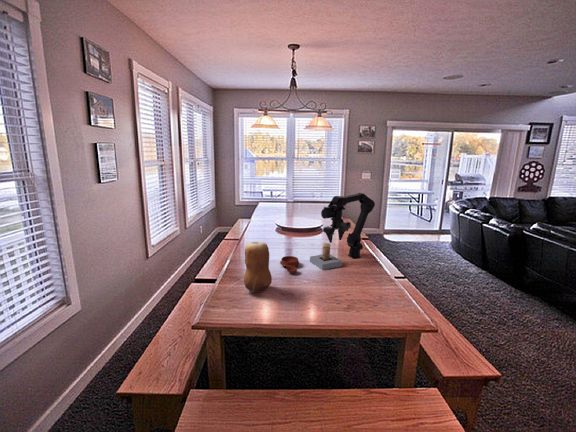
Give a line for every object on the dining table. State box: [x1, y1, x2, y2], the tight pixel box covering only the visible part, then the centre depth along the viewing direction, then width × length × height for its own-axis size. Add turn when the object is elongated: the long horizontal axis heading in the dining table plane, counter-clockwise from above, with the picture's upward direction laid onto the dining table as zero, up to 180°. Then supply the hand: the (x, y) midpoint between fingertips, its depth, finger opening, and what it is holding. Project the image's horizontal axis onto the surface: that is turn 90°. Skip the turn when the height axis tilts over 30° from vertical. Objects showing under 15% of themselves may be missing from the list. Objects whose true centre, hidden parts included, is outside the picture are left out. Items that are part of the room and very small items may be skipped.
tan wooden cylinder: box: [321, 243, 331, 261], centre depth 179 cm, size 5×5×12 cm
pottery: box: [279, 255, 300, 275], centre depth 173 cm, size 12×20×4 cm, turn 6°
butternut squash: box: [243, 241, 273, 293], centre depth 142 cm, size 14×13×25 cm
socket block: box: [309, 253, 343, 271], centre depth 180 cm, size 14×14×4 cm
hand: (335, 241), depth 183 cm, fingers open, 9 cm apart
